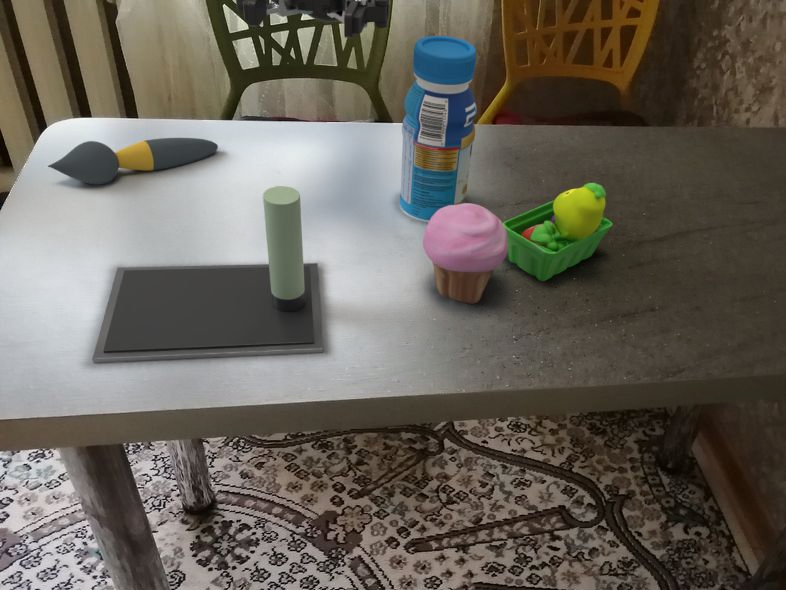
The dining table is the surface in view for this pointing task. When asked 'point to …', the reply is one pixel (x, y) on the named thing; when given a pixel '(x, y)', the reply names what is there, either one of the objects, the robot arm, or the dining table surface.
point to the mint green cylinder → (284, 247)
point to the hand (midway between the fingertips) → (300, 21)
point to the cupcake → (464, 249)
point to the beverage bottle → (438, 127)
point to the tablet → (204, 314)
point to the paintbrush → (130, 157)
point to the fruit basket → (558, 232)
